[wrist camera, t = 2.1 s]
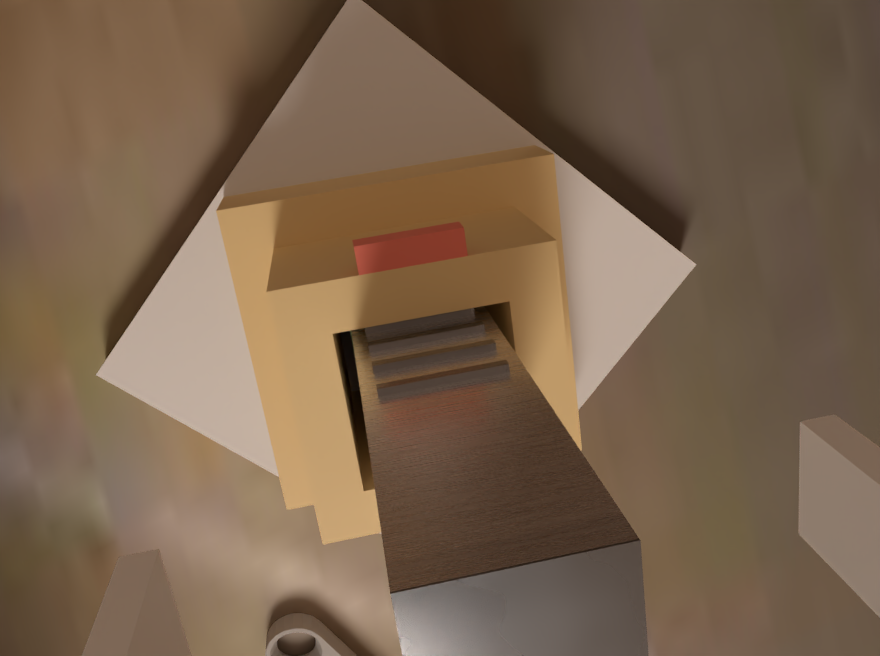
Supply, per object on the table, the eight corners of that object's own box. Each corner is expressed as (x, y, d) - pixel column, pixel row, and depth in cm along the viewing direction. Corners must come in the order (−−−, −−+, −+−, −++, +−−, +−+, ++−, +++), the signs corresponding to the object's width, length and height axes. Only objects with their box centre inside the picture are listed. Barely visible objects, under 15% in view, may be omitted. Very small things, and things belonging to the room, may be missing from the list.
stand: (179, 606, 35) (139, 783, 27) (10, 44, 28) (-121, 46, 19) (690, 498, 37) (802, 631, 29) (666, -52, 30) (808, -88, 21)
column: (362, 389, 31) (424, 792, 14) (340, 278, 29) (382, 584, 13) (472, 368, 31) (658, 736, 15) (457, 257, 30) (644, 528, 13)
